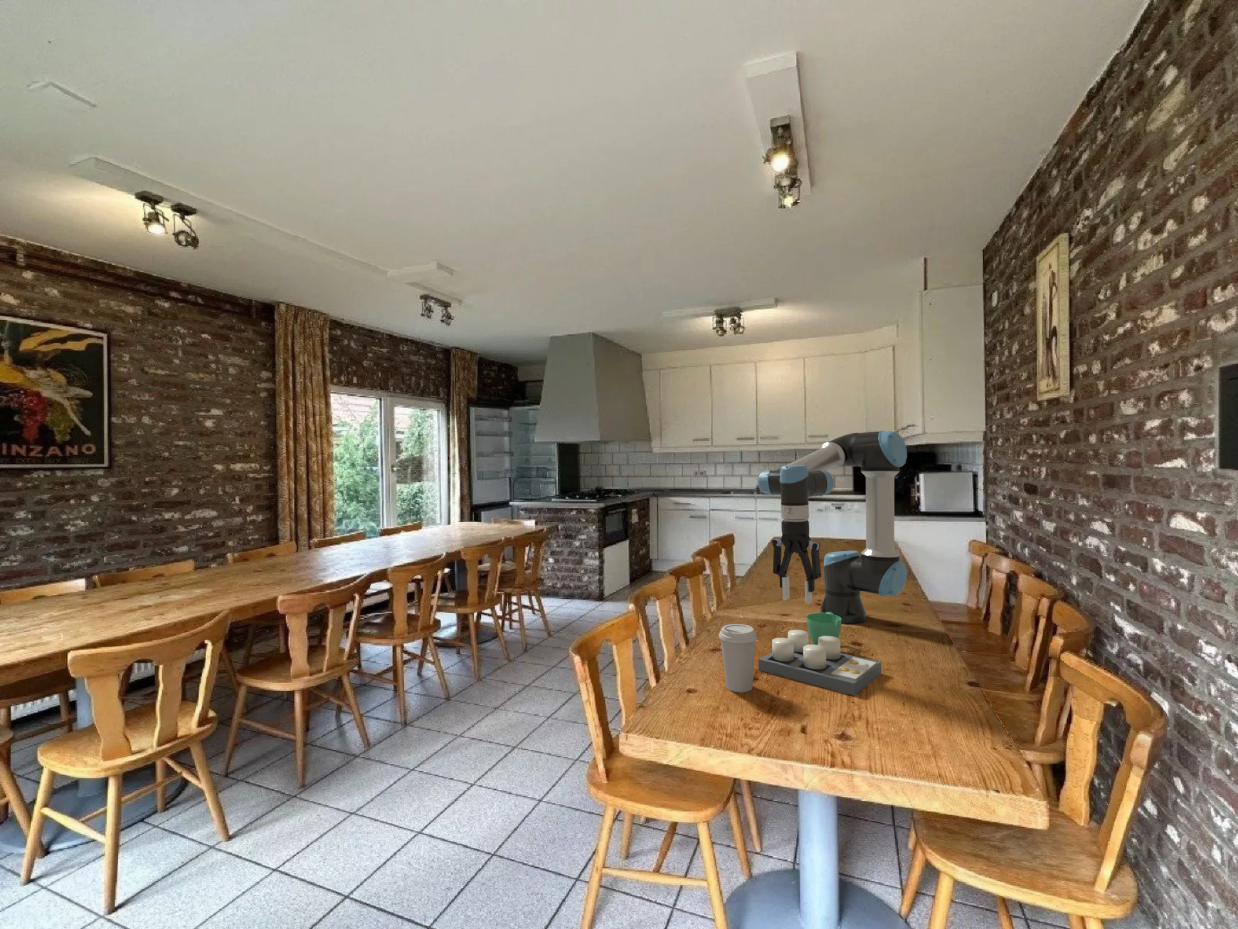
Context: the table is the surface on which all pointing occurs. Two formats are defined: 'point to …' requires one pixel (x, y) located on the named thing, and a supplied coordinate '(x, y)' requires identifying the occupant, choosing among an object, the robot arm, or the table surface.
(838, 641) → the button
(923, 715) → the table surface
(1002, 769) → the table surface
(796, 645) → the button
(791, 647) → the button
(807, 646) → the button
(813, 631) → the mug
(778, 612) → the table surface
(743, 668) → the coffee cup
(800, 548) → the robot arm
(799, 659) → the board
